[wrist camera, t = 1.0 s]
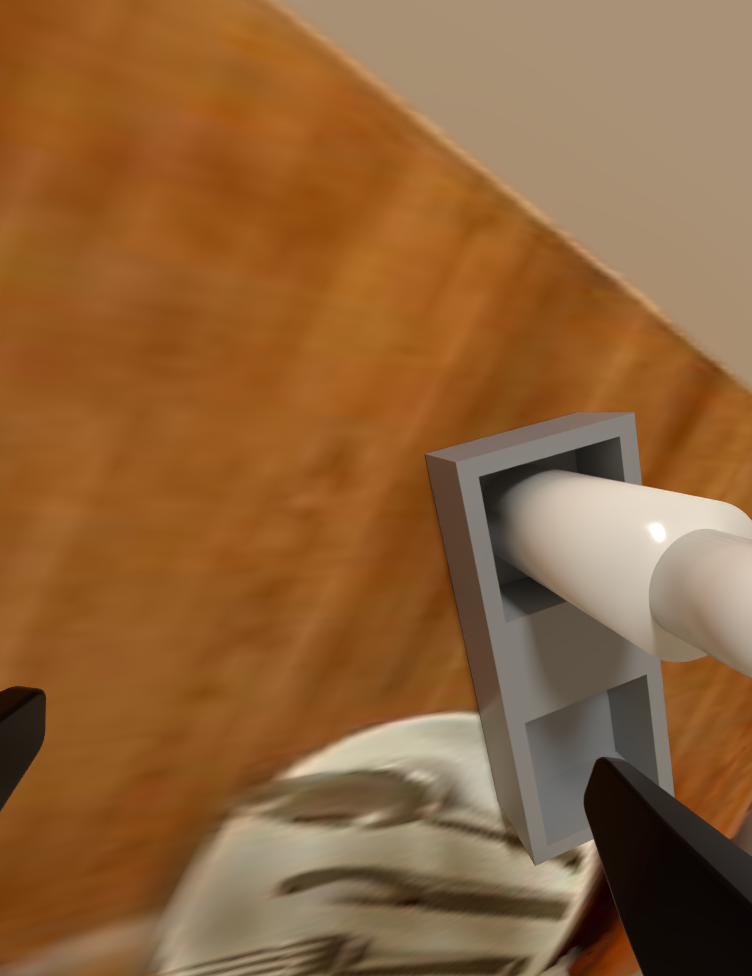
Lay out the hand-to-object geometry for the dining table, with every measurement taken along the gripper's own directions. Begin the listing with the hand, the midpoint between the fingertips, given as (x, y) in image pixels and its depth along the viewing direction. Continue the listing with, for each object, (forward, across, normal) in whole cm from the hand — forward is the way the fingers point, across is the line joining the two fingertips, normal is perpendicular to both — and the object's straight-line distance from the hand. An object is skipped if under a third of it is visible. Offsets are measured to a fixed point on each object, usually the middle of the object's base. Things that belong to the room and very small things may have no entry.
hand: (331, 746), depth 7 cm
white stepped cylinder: (+14, -8, -1) cm, 16 cm away
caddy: (+14, -11, +4) cm, 18 cm away
